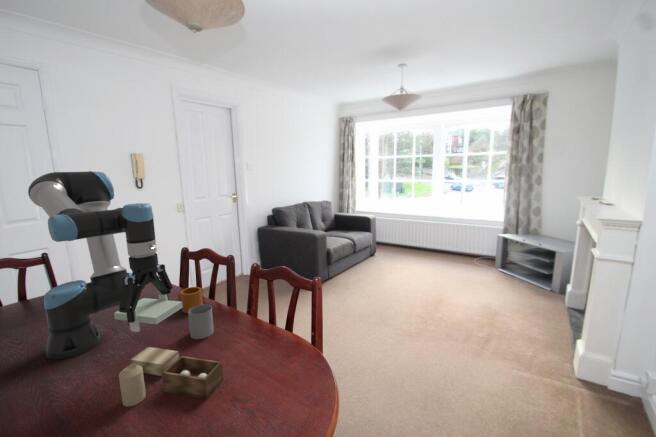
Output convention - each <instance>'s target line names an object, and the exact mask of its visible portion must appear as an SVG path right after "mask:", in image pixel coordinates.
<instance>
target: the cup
mask: <svg viewBox="0 0 656 437" xmlns="http://www.w3.org/2000/svg"><path fill="white" fill-rule="evenodd" d="M187 314H188V324H189V335H190V338H191V339H193V340H201V339H206V338H208V337H210V336H212V335H213V334H214V321H213V320H214V318H213V307H212V306H211V305H210V304H203V305H197V306H194V307H192V308H191V309H189V311H188V313H187Z"/></svg>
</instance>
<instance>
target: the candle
mask: <svg viewBox="0 0 656 437" xmlns="http://www.w3.org/2000/svg"><path fill="white" fill-rule="evenodd" d="M144 377H145V376H144V373H143V368H142V366H139V365H136V364H134V363H133V364H131V363H130V364H129V365H127V366H125V368H123V369H122V370H121V371H119V374H118V380H119V381H118V382H119V388H120V393H121V394H120V396H121V401H122V405H123V406H124V407H128V408H129V407H133V406H136V405H138V404H140V403H142V402H143V401H144V400H145V399H146V396H147V395H146V394H147V393H146V392H147V391H146V384H145V378H144Z"/></svg>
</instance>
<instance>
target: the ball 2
mask: <svg viewBox="0 0 656 437" xmlns="http://www.w3.org/2000/svg"><path fill="white" fill-rule="evenodd" d="M206 376H207V374H206V373H201V374H200V375H199V376H198V377H200V378H205V377H206Z"/></svg>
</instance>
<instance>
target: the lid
mask: <svg viewBox="0 0 656 437" xmlns="http://www.w3.org/2000/svg"><path fill="white" fill-rule="evenodd" d="M130 308H131V307H130ZM182 308H183V306H182V302H179V300H178V301H177V300H159V298H148V297H143V298H141V299H139V300H138V303H137V306H136V309H135V310H138V317H139V323H144V324H151V325H152V324H153V325H157V324H159V323H161V322H163V321H164V320H165V319H167V318H169V317H170V316H172V315H173V314H175V313H176V312H179V310H182ZM113 314H114V320H118V321H127V313H122V312H119V310H117V311H115V312H113ZM127 322H128V321H127Z"/></svg>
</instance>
